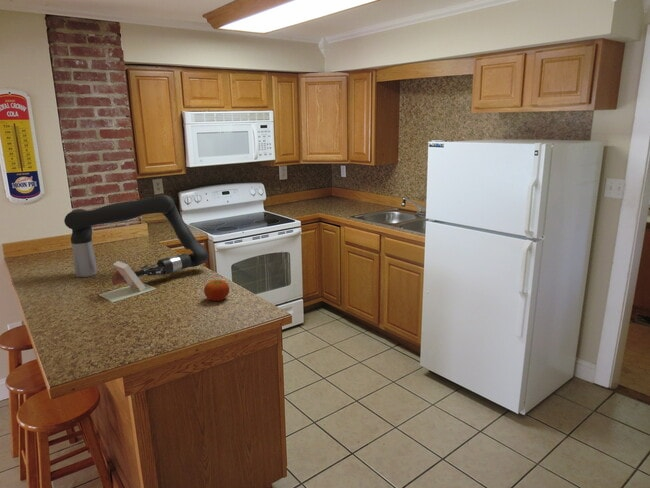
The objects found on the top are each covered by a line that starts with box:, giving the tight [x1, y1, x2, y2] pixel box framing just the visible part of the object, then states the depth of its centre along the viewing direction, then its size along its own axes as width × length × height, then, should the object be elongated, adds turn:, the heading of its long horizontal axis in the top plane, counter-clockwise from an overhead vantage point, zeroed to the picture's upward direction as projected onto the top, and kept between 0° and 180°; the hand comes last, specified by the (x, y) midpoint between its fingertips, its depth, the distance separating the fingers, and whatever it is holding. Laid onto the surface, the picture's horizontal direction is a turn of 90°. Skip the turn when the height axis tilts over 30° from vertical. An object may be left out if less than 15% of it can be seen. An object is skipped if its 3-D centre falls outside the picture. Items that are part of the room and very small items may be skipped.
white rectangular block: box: [113, 260, 145, 291], centre depth 207 cm, size 3×10×14 cm, turn 48°
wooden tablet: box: [112, 267, 135, 286], centre depth 229 cm, size 27×10×2 cm, turn 22°
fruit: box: [203, 279, 230, 302], centre depth 196 cm, size 11×10×8 cm
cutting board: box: [98, 282, 157, 303], centre depth 207 cm, size 20×14×1 cm
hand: (135, 274), depth 209 cm, fingers closed
